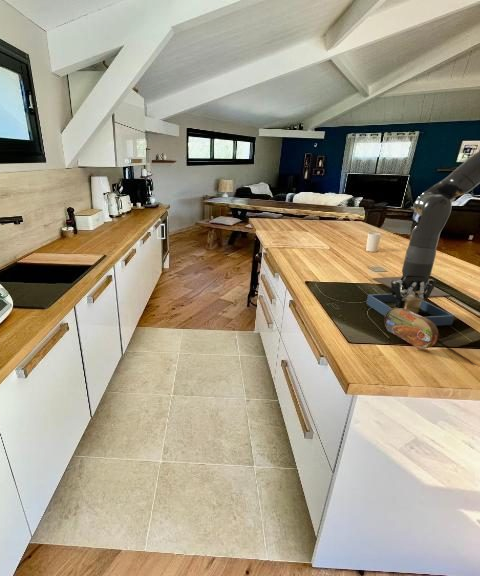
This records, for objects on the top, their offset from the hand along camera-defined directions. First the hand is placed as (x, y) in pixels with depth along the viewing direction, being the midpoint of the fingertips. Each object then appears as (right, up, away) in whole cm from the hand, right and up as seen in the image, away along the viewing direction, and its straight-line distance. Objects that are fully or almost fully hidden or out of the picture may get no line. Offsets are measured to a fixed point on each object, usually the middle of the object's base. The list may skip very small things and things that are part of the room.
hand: (407, 309), depth 103 cm
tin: (-10, -8, -14) cm, 19 cm away
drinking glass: (-18, +17, +55) cm, 61 cm away
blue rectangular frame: (0, -2, +1) cm, 2 cm away
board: (+16, +7, +23) cm, 28 cm away
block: (0, 0, 0) cm, 0 cm away
